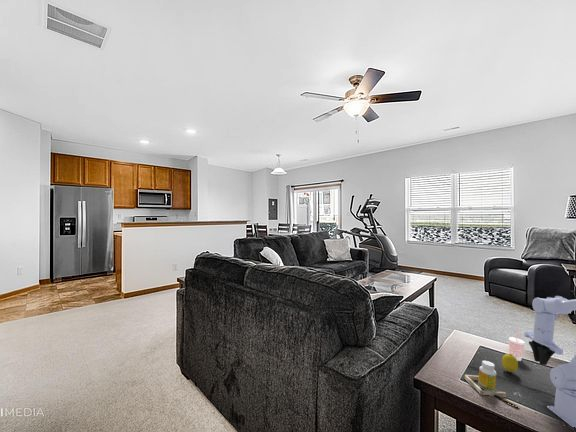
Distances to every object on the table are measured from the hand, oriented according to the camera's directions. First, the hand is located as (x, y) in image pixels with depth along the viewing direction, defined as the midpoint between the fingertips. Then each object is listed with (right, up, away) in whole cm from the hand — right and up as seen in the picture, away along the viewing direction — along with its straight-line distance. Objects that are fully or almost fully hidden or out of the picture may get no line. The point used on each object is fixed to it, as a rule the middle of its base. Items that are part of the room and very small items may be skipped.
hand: (540, 362), depth 109 cm
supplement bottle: (-23, -9, -2) cm, 24 cm away
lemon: (-4, -10, +11) cm, 15 cm away
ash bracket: (-23, -9, -1) cm, 24 cm away
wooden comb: (-23, -10, -7) cm, 26 cm away
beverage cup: (+10, -11, +24) cm, 28 cm away
